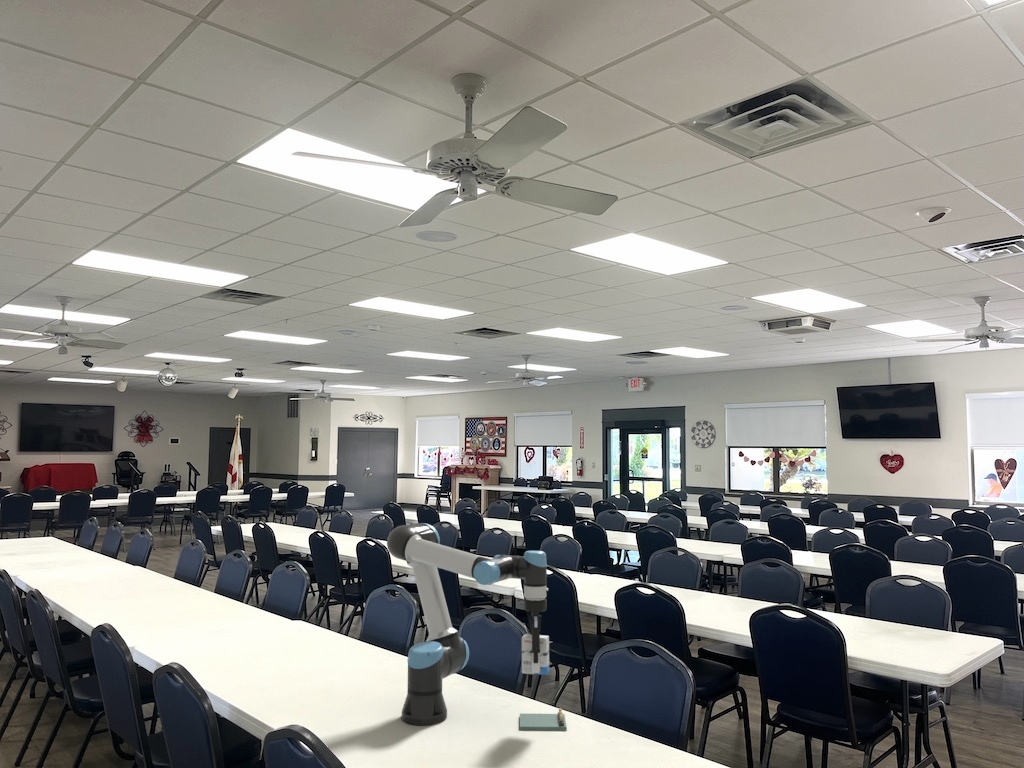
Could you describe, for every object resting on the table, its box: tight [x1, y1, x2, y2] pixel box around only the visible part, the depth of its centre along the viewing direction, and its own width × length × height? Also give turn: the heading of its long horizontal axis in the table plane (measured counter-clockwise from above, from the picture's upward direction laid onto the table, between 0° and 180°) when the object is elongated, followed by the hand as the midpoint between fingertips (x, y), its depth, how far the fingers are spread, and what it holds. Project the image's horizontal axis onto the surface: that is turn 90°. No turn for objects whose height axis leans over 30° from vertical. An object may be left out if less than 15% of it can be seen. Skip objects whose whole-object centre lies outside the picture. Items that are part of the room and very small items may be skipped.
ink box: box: [521, 633, 550, 676], centre depth 239 cm, size 8×5×12 cm, turn 74°
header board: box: [519, 707, 568, 731], centre depth 237 cm, size 15×12×4 cm
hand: (535, 669), depth 239 cm, fingers closed on ink box, 6 cm apart
